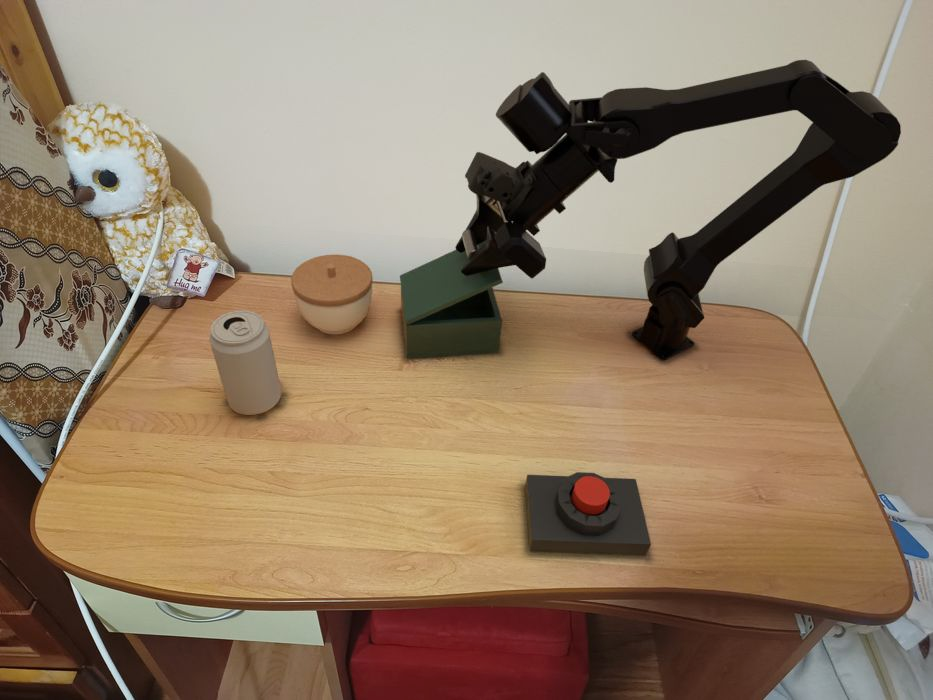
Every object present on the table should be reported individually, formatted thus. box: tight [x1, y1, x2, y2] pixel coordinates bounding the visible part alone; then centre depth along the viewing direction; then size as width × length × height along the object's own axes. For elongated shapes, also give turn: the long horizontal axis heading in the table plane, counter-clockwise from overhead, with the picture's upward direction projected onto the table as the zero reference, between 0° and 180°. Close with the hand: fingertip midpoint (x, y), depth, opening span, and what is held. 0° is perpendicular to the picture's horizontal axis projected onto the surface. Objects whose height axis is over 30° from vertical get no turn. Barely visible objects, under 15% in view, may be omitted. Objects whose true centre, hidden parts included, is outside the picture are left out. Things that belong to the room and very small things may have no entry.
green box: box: [400, 287, 503, 360], centre depth 87 cm, size 13×10×6 cm
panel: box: [524, 471, 652, 557], centre depth 66 cm, size 12×8×4 cm, turn 89°
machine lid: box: [399, 229, 504, 325], centre depth 81 cm, size 13×10×4 cm
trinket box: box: [290, 254, 374, 335], centre depth 86 cm, size 11×11×9 cm
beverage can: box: [209, 309, 282, 416], centre depth 73 cm, size 6×6×12 cm
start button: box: [572, 476, 610, 515], centre depth 64 cm, size 4×4×2 cm
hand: (460, 261), depth 81 cm, fingers closed on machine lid, 5 cm apart
